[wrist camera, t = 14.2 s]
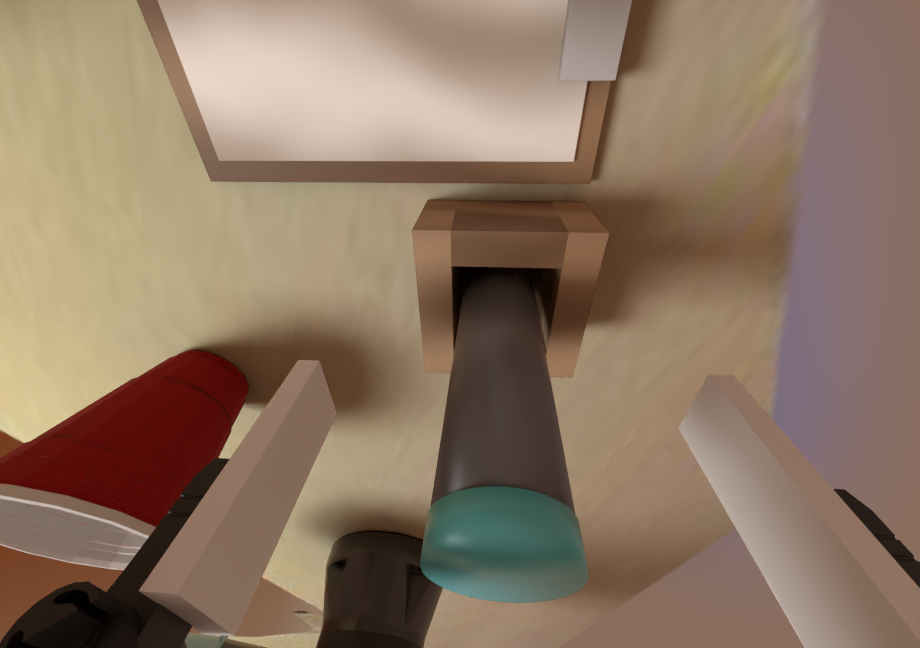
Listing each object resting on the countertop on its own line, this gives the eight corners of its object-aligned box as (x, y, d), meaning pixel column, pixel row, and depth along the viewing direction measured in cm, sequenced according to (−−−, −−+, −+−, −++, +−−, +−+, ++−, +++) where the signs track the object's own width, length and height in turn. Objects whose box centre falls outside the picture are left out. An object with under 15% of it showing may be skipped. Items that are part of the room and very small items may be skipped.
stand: (557, 328, 22) (572, 377, 18) (435, 324, 22) (425, 371, 19) (582, 201, 17) (609, 232, 13) (427, 200, 18) (412, 230, 14)
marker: (526, 297, 21) (572, 609, 8) (466, 295, 21) (426, 594, 9) (533, 240, 18) (608, 546, 6) (466, 238, 19) (411, 529, 7)
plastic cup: (196, 426, 30) (59, 587, 21) (106, 331, 24) (-148, 494, 15) (305, 419, 29) (212, 589, 19) (237, 316, 23) (51, 487, 13)
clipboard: (586, 181, 17) (596, 190, 15) (218, 178, 18) (194, 187, 16) (688, -329, 9) (727, -411, 8) (37, -280, 10) (-39, -343, 9)
